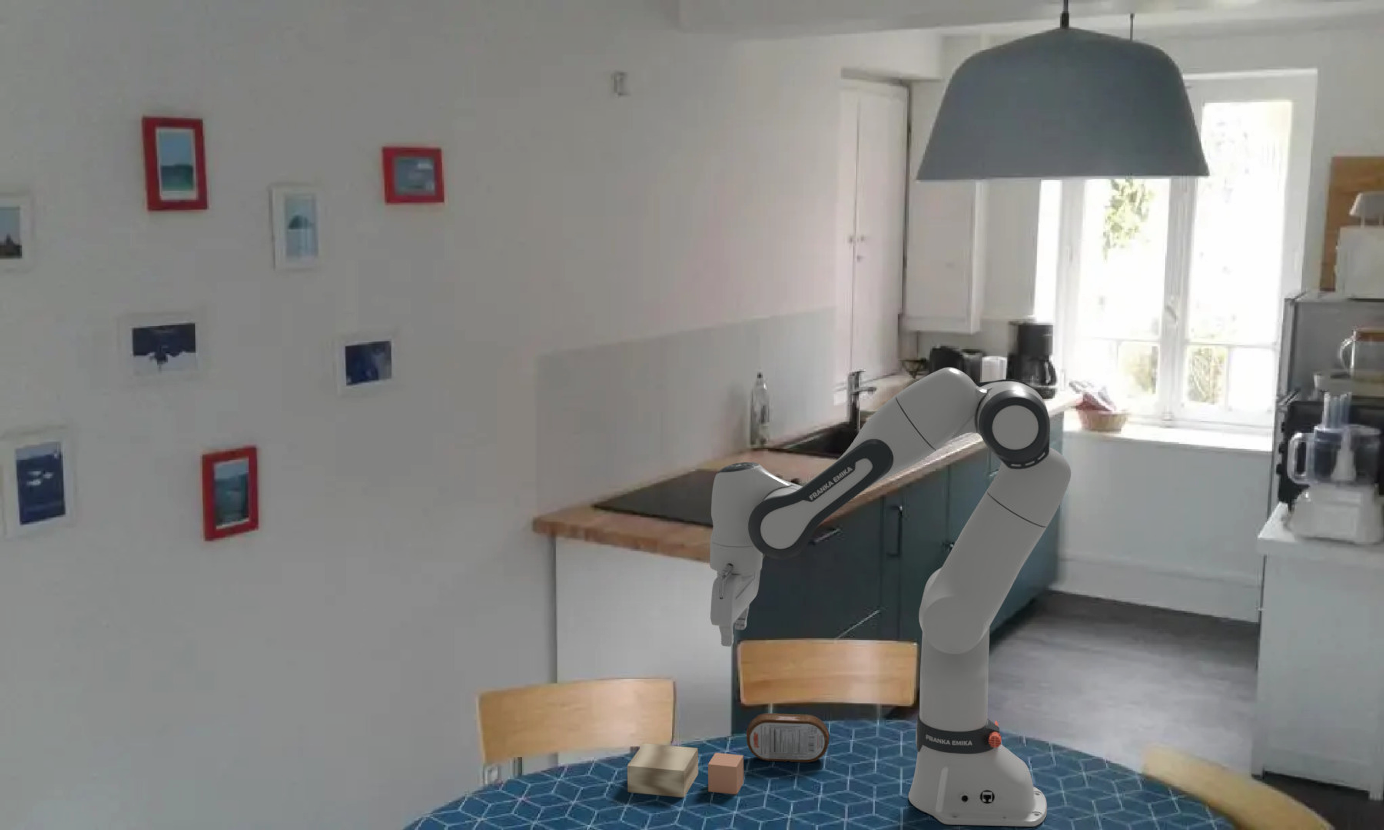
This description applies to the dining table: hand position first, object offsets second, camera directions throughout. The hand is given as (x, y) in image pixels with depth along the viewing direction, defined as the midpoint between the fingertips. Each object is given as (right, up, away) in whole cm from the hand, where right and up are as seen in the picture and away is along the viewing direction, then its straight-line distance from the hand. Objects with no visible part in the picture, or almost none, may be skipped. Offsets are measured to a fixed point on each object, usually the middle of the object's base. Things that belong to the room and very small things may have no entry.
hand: (734, 636), depth 216 cm
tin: (+10, -25, +14) cm, 31 cm away
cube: (-1, -27, +3) cm, 27 cm away
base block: (-12, -27, +5) cm, 30 cm away
